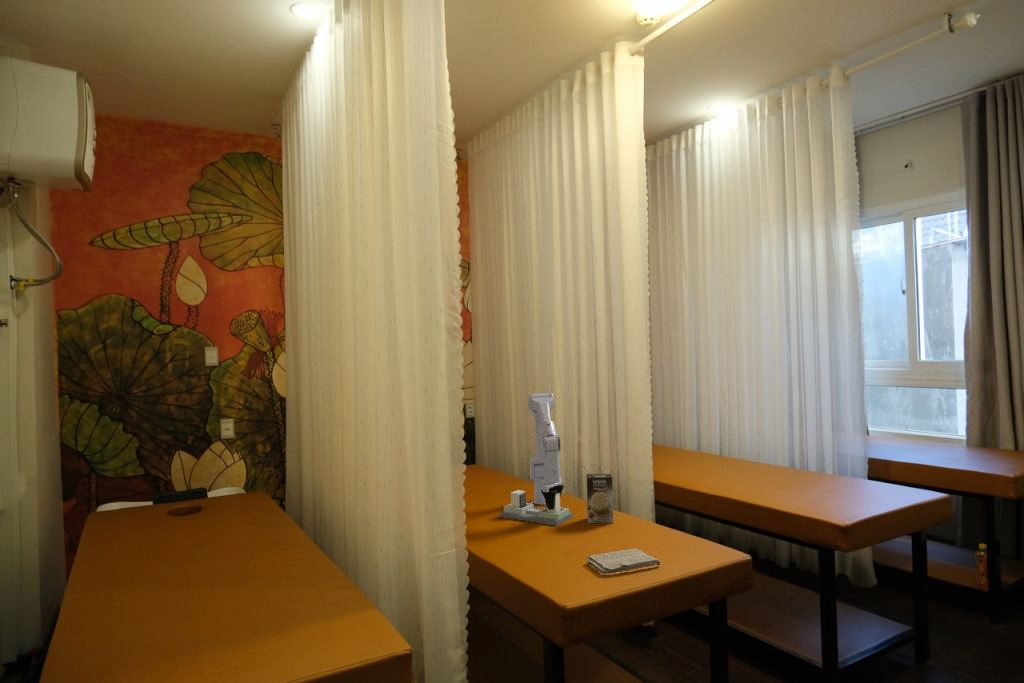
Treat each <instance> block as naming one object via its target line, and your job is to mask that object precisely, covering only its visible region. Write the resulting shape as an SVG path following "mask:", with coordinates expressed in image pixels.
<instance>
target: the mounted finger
mask: <svg viewBox="0 0 1024 683" xmlns="http://www.w3.org/2000/svg"><path fill="white" fill-rule="evenodd" d="M510 501H511V503H510V504H511V507H515V508H523V507H525V506H527V504H526V503H527V493H526V490H520V489H517V490H515V491H511V492H510Z"/></svg>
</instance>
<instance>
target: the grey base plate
mask: <svg viewBox="0 0 1024 683" xmlns="http://www.w3.org/2000/svg"><path fill="white" fill-rule="evenodd" d="M526 504H527V506H525V507H523V508H515V507H511V503H509V504H507V505H504V506H503V511H502V512H500V513H499V518H501V517H504V518H503V519H508V518H511V519H510V520H514V519H518V520H517V521H521V520H525V521H524V522H528V521H530V523H534V522H536V523H535V524H541V523H542V524H541V525H549V526H554V527H557V526H559V525H560V524H561V525H562V524H563V523H564V522H566V521H568V520H570V519H572V518H573V517H574V512H570V508H569V507H568V508H567V507H561V506H560V511H561V512H559V513H551V512H547V511H546V507H544V508H540V507H539V508H538V507H534V506H535V505H534V504H533V503H531V502H530V503H529V502H526ZM571 517H572V518H571Z"/></svg>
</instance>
